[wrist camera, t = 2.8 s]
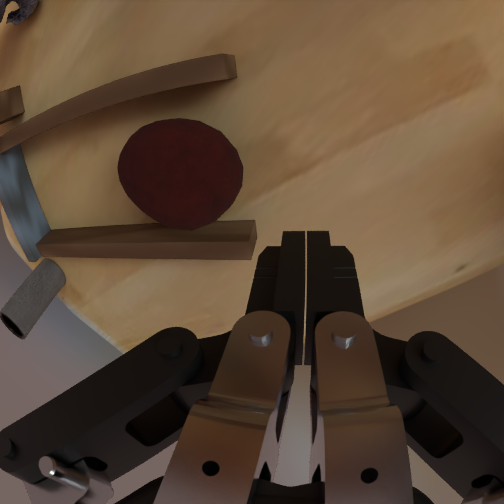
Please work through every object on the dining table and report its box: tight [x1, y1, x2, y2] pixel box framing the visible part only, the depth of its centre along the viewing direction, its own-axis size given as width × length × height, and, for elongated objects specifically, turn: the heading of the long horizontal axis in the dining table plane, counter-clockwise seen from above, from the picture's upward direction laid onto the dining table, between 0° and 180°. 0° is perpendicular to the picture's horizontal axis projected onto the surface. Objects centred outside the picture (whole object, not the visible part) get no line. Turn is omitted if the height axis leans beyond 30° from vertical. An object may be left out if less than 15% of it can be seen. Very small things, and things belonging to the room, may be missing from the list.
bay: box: [0, 54, 257, 262], centre depth 17 cm, size 19×26×8 cm
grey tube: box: [0, 259, 66, 339], centre depth 28 cm, size 4×4×10 cm
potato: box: [117, 118, 243, 231], centre depth 18 cm, size 7×8×7 cm
